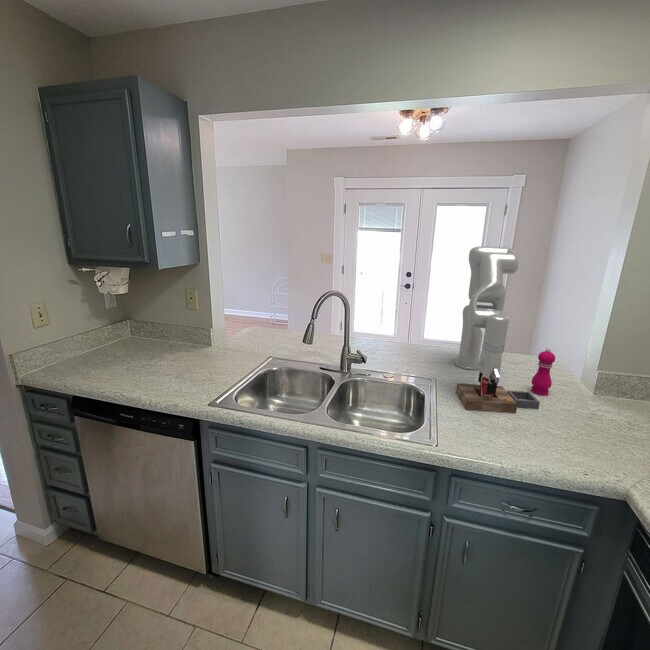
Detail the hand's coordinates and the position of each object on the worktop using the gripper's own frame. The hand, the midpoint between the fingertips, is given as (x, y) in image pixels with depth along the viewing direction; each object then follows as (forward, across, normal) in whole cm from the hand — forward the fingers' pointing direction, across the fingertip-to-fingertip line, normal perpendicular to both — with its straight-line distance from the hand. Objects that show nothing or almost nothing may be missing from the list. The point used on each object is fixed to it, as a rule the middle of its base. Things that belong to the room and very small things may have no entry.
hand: (486, 387), depth 134 cm
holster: (+6, -1, +15) cm, 16 cm away
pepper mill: (+7, -12, +27) cm, 30 cm away
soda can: (+7, 0, 0) cm, 7 cm away
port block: (+6, 0, 0) cm, 6 cm away
